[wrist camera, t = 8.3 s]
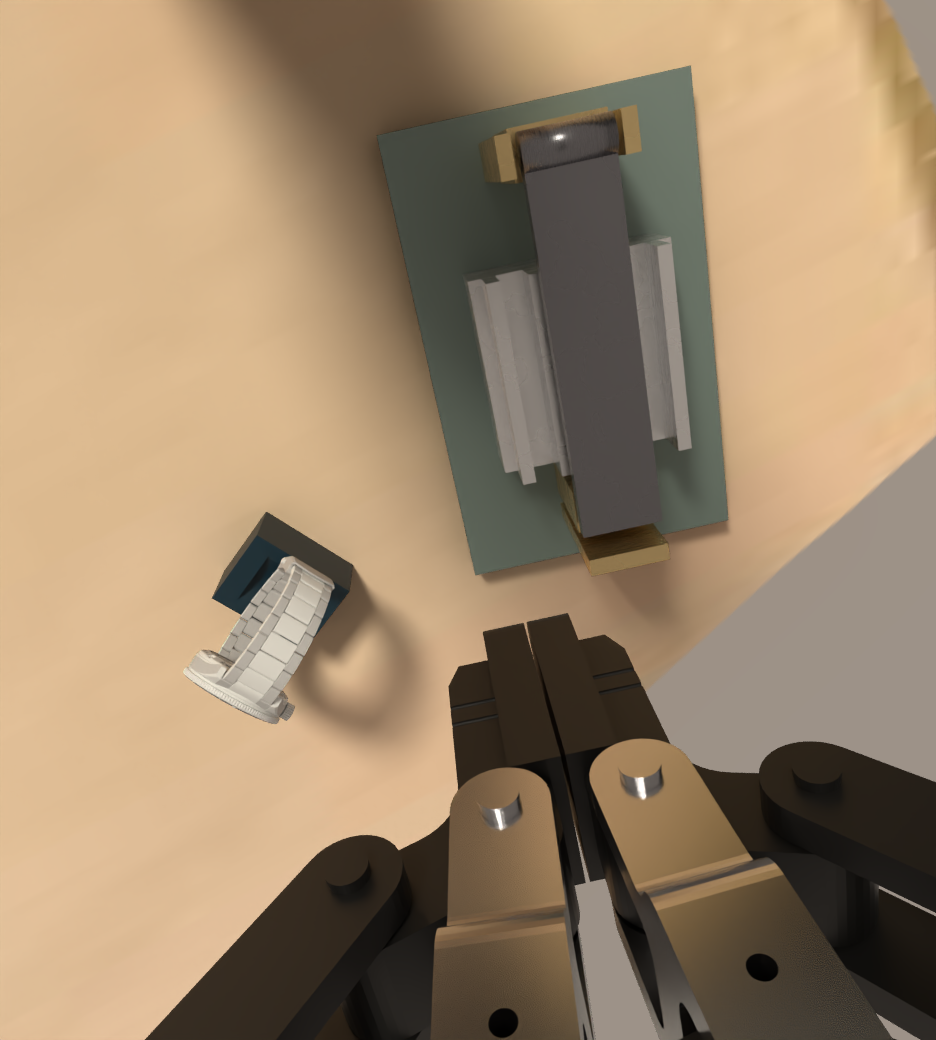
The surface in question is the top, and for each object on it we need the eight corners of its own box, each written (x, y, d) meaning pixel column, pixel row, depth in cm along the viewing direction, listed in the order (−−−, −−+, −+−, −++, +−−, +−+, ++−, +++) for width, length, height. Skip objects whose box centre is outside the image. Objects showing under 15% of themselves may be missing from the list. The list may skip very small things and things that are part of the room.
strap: (513, 132, 31) (518, 130, 30) (605, 112, 31) (615, 108, 30) (578, 527, 37) (585, 541, 36) (654, 511, 37) (665, 524, 36)
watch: (205, 597, 45) (149, 718, 35) (284, 486, 43) (248, 580, 33) (292, 646, 47) (262, 776, 36) (372, 542, 44) (363, 648, 34)
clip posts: (477, 138, 36) (494, 129, 29) (597, 112, 36) (641, 96, 29) (546, 520, 43) (572, 580, 37) (645, 498, 43) (689, 554, 36)
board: (377, 137, 37) (376, 135, 35) (679, 69, 37) (690, 65, 35) (473, 563, 45) (475, 575, 44) (718, 509, 45) (728, 520, 44)
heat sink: (462, 274, 38) (471, 287, 33) (651, 232, 38) (685, 240, 33) (498, 454, 41) (510, 487, 37) (670, 416, 41) (704, 445, 37)
